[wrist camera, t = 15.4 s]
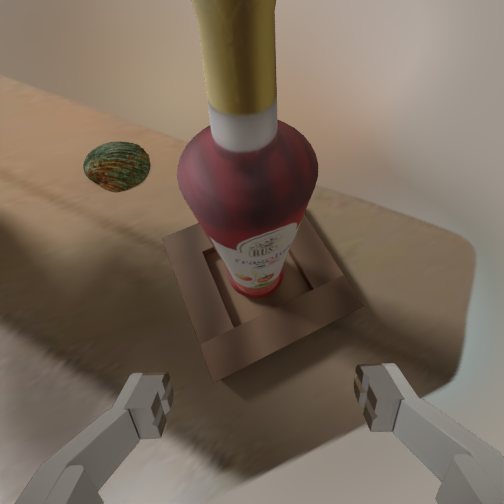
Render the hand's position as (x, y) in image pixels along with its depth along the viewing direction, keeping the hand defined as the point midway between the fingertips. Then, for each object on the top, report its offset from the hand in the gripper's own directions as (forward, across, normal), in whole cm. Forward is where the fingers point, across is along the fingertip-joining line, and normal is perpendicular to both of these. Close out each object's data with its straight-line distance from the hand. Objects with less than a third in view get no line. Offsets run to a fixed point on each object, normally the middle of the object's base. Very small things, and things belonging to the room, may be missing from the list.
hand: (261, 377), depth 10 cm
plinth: (+20, 0, +6) cm, 21 cm away
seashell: (+35, +22, -8) cm, 42 cm away
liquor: (+19, 0, +5) cm, 20 cm away
